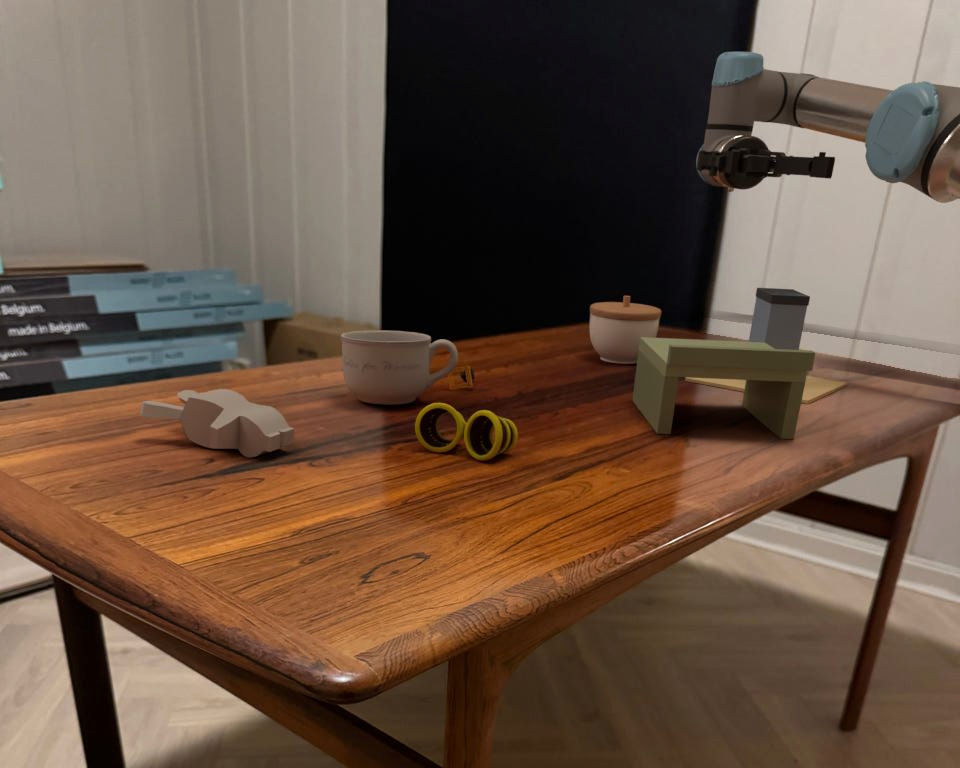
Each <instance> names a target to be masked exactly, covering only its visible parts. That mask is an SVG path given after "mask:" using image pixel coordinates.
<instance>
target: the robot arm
mask: <svg viewBox="0 0 960 768" xmlns="http://www.w3.org/2000/svg"><path fill="white" fill-rule="evenodd" d="M755 122H757V123H758V122H760V123H771V124H779V125H780V124H781V125H786V126H790V127H791V126H792V127H796V128H800V129H806V130H810V131H814V132H817V133H821V134H822V133H823V134H826V135H831V136H835V137H839V138H843V139H848V140H851V141H855V142H860V143H863V144H864V146H865V149H866V151H865V161H866V164H867V167H868V168H869V170H870V172H871V173H872V175H873V176H874V177H876V178H877V179H879V180H881V181H884V182H885V183H889V184H897V183H902V184H906V185H908V186H910V187H912V188H914V189H915V190H917V191H919V192H920V193H922V194H923V195H926V196H927V197H928V198H930V199H932V200H934V201H936V202H938V203H940V204H943V203H944V204H947V203H950V202H954V201H957V200H960V87H959V86H953V85H945V84H936V83H931V82H929V81H921V82H920V81H918V82H908V83H904V84H902V85H900V86H898V87H897V88H894V90H892V89H887V88H881V87H877V86H870V85H865V84H859V83H854V82H848V81H842V80H836V79H831V78H825V77H820V76H817V75H815V74H811V73H804V72H803V73H796V72H786V71H778V70H771V69H767V68H765V67H764V56H763V55H762V53H758V52H754V51H753V52H752V51H725V52H722V53H721V54H719V55H718V57H717V58H716V63H715V67H714V71H713V77H712V81H711V91H710V100H709V109H708V117H707V124H706V129H705V133H704V141H703V144H702V145H701V146H700V148H699V150H698V152H697V155H696V159H695V161H696V162H695V166H696V171H697V173H698V175H699V177H700V178H701V179H702V180H703V181H704V182H705V183H707V184H708V185H711V186H713V187H720V188H728V189H727V191H728V192H729V193H733V192H734V191H735V190H750V189H752V188H755V187H756V186H758V185H760V184H761V182H762V181H763V180H764V179H766V178H781V177H782V176H783V175H786V176H790V175H791V176H805V177H807V176H808V177H810V178H816V179H817V178H818V179H832V177H833V173H834V166H835V162H836V157H835V156H826V154H827V152H825V151H819V153H818V156H817V155H813V157H809V156H795V155H786V153H785V152H784V151H783V152H782V151H771V149H769V147H768V145H767V144H766V143H765V141H764V140H762V139H761V138H759V137H757V136H755V135H752V134H753V129H754V125H755Z"/></svg>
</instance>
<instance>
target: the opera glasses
mask: <svg viewBox="0 0 960 768" xmlns="http://www.w3.org/2000/svg"><path fill="white" fill-rule="evenodd" d="M448 414H451V415H452V417H453V418H454V420H455V423H456V433H455V436H454V438H446V437H444V436H443V435H442V434H441V433H440V430H439V422H440V420H441V418H442V417H444V416H445V415H448ZM414 432H415V436H416V438H417V440H418V442H419V443H420V445H421V446H422V447H424V448H425V449H426V450H428V451H430V452H433V453H446V452H449V451H451V450H453V449H454V448H455V447H456V446H457V445H458V444H459V443H460V441H461V440H462V439H463V440H464V445H465V448H466V450H467V451H468V453H469V455H470V457H472V458H473V459H475V460H476V461H481V462H485V461H490V460H491V459H493V458H494V457H495V456H498V455H500V454H503V453H509V452H510V451H512V450H513V449H514V448H515V447H516V444H517V442H518V438H519V432H518V428H517V426H516V424H515V423H514V421H512V420H510V419H508V418H506V417H505V418H504V417H501V416H499V415H496V413H494V412H493V411H490V410H488V409H481V410H477V411H475V412H474V413H473V414H472V415H471V416H470V417H469V418H468V420H467V421H466V420H465V418H464V417H463V414H461V413H460V412H459V411H457V409H455V408H454V407H453V406H451V405H450V404H447V403H444V402H433V403H430V404H428V405H426V406H425V407H423V408H422V409H421V410H420V411H419V413H418V414H417V417H416V419H415V423H414ZM493 433H494V435H495V436H494V435H493ZM493 436H494V438H493Z"/></svg>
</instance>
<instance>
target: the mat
mask: <svg viewBox="0 0 960 768" xmlns="http://www.w3.org/2000/svg"><path fill="white" fill-rule="evenodd" d="M684 378H685V379H684V381H685V382H688V383H694V384H700V385H704V386H708V387H709V386H710V387H715V388H719V389H725V390H730V391H735V392H736V391H737V392H741V393H742V392H743V393H744V390H745V384H746V380H736V379H713V378H689V377H684ZM847 386H848V382H845V381H839V380H833V379H828V378H821V377H815V376H811V375H807V377H806V382H805V387H804V391H803V396H802V401H801V404H804V405H805V404H806V405H809V404H811V403H813V402H815V401H817V400H819V399H820V400H821V399H822V398H824V397H826V396H829V395H830V394H832V393H835V392H837V391H839V390H841V389H844V388H846V387H847Z"/></svg>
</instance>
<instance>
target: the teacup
mask: <svg viewBox="0 0 960 768" xmlns="http://www.w3.org/2000/svg"><path fill="white" fill-rule="evenodd" d="M340 339H341V356H342V357H341V358H342V361H341V362H342V373H343V381H344V383H345V386H346V388H347V389H348V390H349V392H351V393H352V394H354V395H355V396H356V398H357V399H358V400H359V401H360V402H363V403H366V404H370V405H371V404H372V405H385V406H386V405H388V406H389V405H390V406H393V405H394V406H395V405H396V406H397V405H405V404H410V403H412V402H414V401H415V400H416V399H417V398H418V397H419V396H420V395H421V394H422V393H424V391H425V390H427V389H431V388H432V387H434V385H435V384H436V382H438V381H439V380H440V381H441V379H443V378H445V377H448V374H449V373H451V372H453V371H452V370H455V369H454V368H457V367H456V366H457V364H458V361H459V352H458V349H457V347H456V345H455V344H454V343H453V342H452V341H450V340H448V339H437V340H435V341H433V342H432V337H431V336H430V335H428V334H425V333H420V332H415V331H403V330H381V329H380V330H379V329H378V330H356V331H348V332H343V333H341V335H340ZM439 349H445V350H447V351H448V353H449V356H450V357H449V361H448V363H447V364H446V366H444V367H443V368H442V369H440V370H439V371H436V372H434V373H430V371H431V369H430V368H431V362H432V361H433V359H434V357H435V353H436V352H437V350H439Z"/></svg>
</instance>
